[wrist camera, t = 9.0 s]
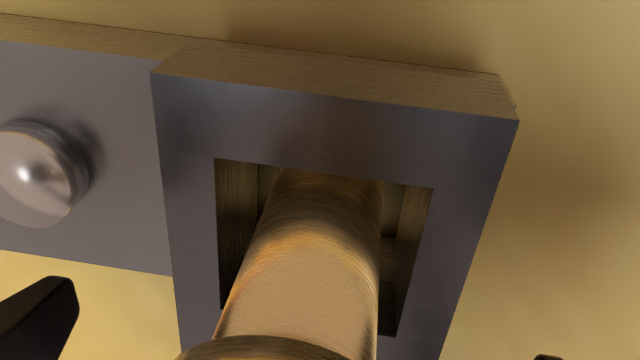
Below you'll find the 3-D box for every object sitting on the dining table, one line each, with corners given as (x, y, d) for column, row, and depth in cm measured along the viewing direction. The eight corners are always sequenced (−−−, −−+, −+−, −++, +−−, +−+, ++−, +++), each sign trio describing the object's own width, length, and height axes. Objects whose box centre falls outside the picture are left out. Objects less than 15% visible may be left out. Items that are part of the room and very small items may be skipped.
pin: (388, 230, 15) (382, 567, 8) (267, 211, 16) (147, 521, 8) (411, 117, 13) (435, 432, 6) (270, 98, 13) (112, 376, 6)
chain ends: (401, 403, 20) (402, 528, 16) (-44, 328, 21) (-141, 426, 18) (504, 55, 12) (557, 139, 8) (-221, -32, 13) (-473, 4, 9)
